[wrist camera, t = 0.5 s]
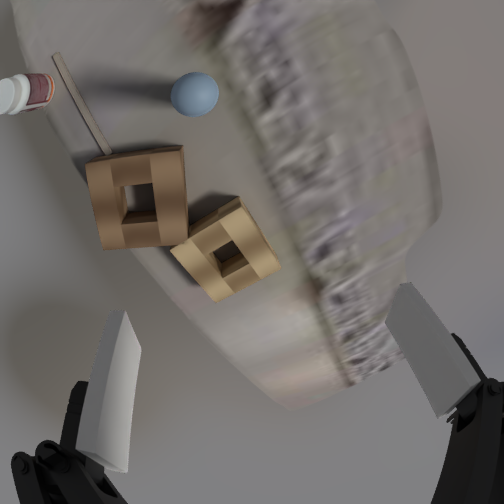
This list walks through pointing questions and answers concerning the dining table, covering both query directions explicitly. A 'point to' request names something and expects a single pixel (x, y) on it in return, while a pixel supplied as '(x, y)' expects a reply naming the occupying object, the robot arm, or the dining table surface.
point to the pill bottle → (25, 93)
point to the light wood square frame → (216, 235)
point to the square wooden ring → (146, 222)
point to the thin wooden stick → (81, 104)
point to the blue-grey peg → (194, 94)
